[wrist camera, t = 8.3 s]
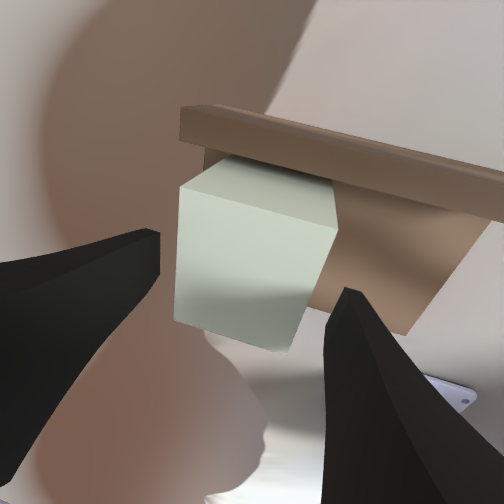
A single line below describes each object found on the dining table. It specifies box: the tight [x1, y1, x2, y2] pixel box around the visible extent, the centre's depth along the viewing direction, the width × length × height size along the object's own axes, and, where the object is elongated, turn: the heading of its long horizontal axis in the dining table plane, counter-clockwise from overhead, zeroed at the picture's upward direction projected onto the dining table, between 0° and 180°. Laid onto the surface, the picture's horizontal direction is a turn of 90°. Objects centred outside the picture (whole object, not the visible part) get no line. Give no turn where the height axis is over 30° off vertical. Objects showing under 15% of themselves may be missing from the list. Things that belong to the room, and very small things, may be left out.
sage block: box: [174, 154, 338, 356], centre depth 12 cm, size 6×5×6 cm
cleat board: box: [180, 104, 504, 336], centre depth 14 cm, size 10×14×4 cm
